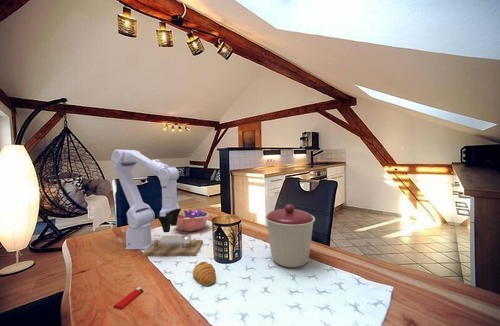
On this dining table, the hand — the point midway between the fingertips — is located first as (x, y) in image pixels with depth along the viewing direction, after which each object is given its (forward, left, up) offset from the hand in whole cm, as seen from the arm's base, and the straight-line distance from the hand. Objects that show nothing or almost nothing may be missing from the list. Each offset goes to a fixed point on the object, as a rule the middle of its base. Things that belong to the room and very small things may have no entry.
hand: (170, 228), depth 87 cm
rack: (+1, +1, -9) cm, 10 cm away
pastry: (+19, -19, -10) cm, 28 cm away
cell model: (+1, +25, -10) cm, 27 cm away
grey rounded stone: (+2, +1, -8) cm, 8 cm away
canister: (+48, -9, -10) cm, 50 cm away
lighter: (0, -29, -10) cm, 31 cm away
